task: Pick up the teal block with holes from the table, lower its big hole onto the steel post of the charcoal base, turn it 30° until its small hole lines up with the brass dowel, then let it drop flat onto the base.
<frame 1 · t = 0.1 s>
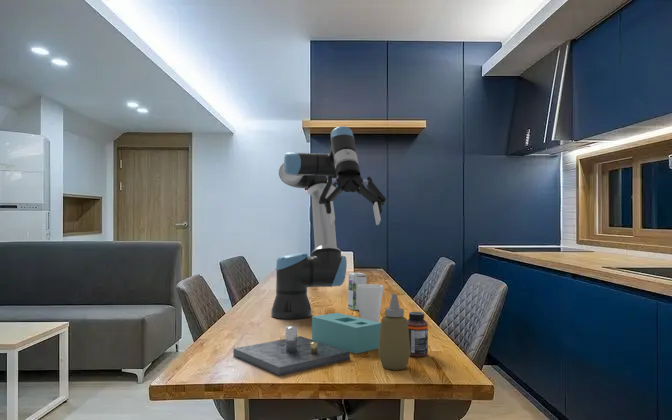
hand: (356, 222, 146), 36 cm above the table, tool tilted 35°, fingers open, 13 cm apart
teal block with holes: (346, 343, 147), on the table
foam cup: (369, 323, 177), on the table
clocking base: (291, 357, 132), on the table
supplement bottle: (416, 355, 136), on the table
squeeze bottle: (394, 367, 124), on the table
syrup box: (357, 309, 204), on the table
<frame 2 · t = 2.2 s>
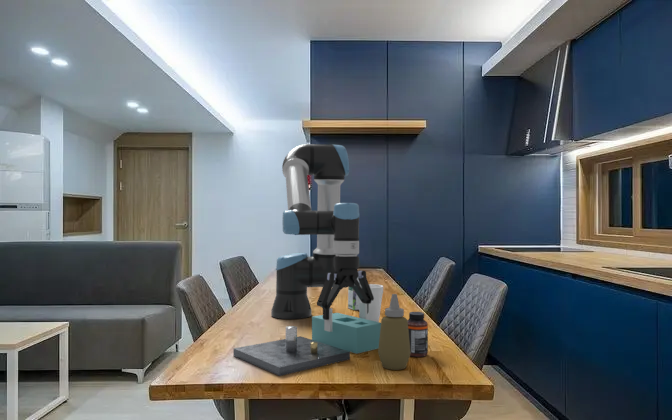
hand: (346, 328, 147), 5 cm above the table, tool pointing down, fingers open, 13 cm apart
nothing on the table moved.
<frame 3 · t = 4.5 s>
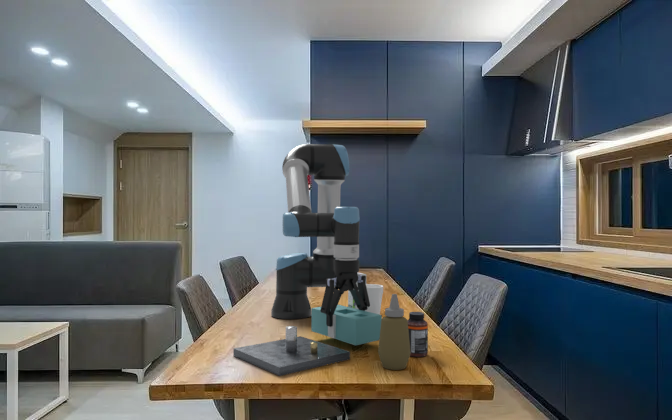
hand: (345, 334, 148), 3 cm above the table, tool pointing down, fingers closed on teal block with holes, 10 cm apart
teal block with holes: (345, 335, 148), point 2 cm above the table, touching gripper
everything else where it was.
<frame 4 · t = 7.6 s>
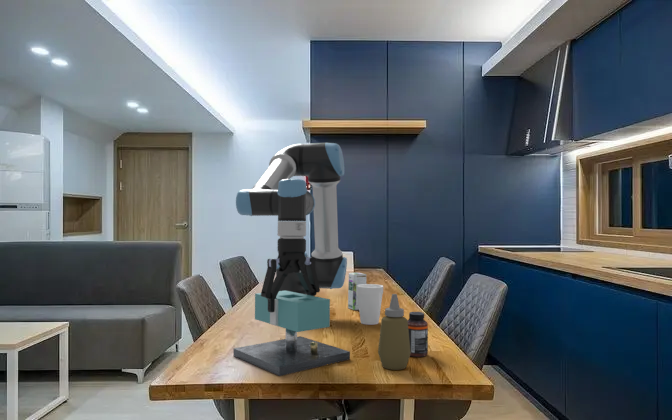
hand: (291, 322, 132), 9 cm above the table, tool pointing down, fingers closed on teal block with holes, 10 cm apart
teal block with holes: (290, 322, 132), point 9 cm above the table, touching gripper
everything else where it was.
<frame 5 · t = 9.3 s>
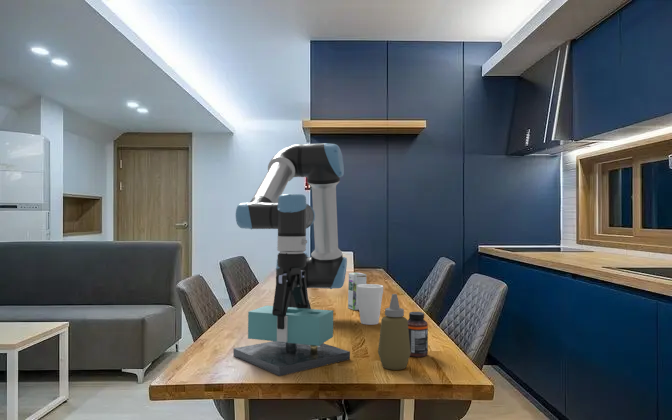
hand: (291, 336, 132), 5 cm above the table, tool pointing down, fingers closed on teal block with holes, 10 cm apart
teal block with holes: (290, 337, 132), point 5 cm above the table, touching gripper
everything else where it was.
when the fingers open (3 cm above the table, at t = 10.6 s): teal block with holes stays where it is, resting on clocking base.
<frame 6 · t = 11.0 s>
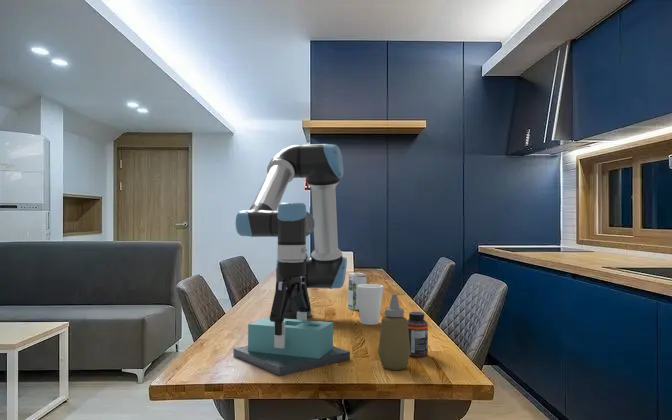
hand: (291, 341, 132), 4 cm above the table, tool pointing down, fingers open, 13 cm apart
teal block with holes: (290, 349, 132), point 2 cm above the table, touching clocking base
everything else where it was.
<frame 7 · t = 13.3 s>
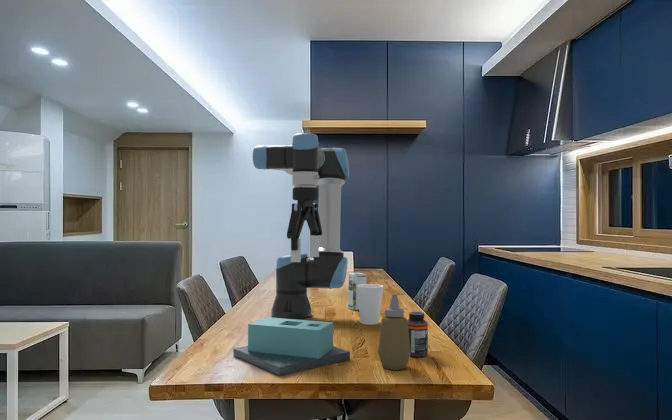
hand: (305, 259, 147), 25 cm above the table, tool pointing down, fingers open, 13 cm apart
nothing on the table moved.
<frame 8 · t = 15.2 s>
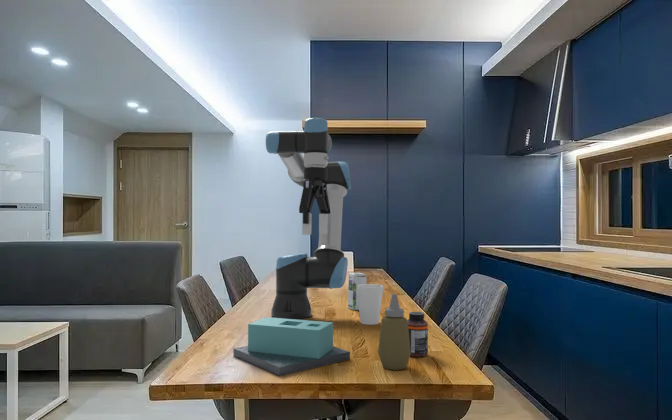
hand: (315, 234, 159), 32 cm above the table, tool pointing down, fingers open, 13 cm apart
nothing on the table moved.
at the end: teal block with holes 0.1 cm off-centre on the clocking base, point 2.0 cm above the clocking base's base; teal block with holes tilted 0°; the gripper is holding nothing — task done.
